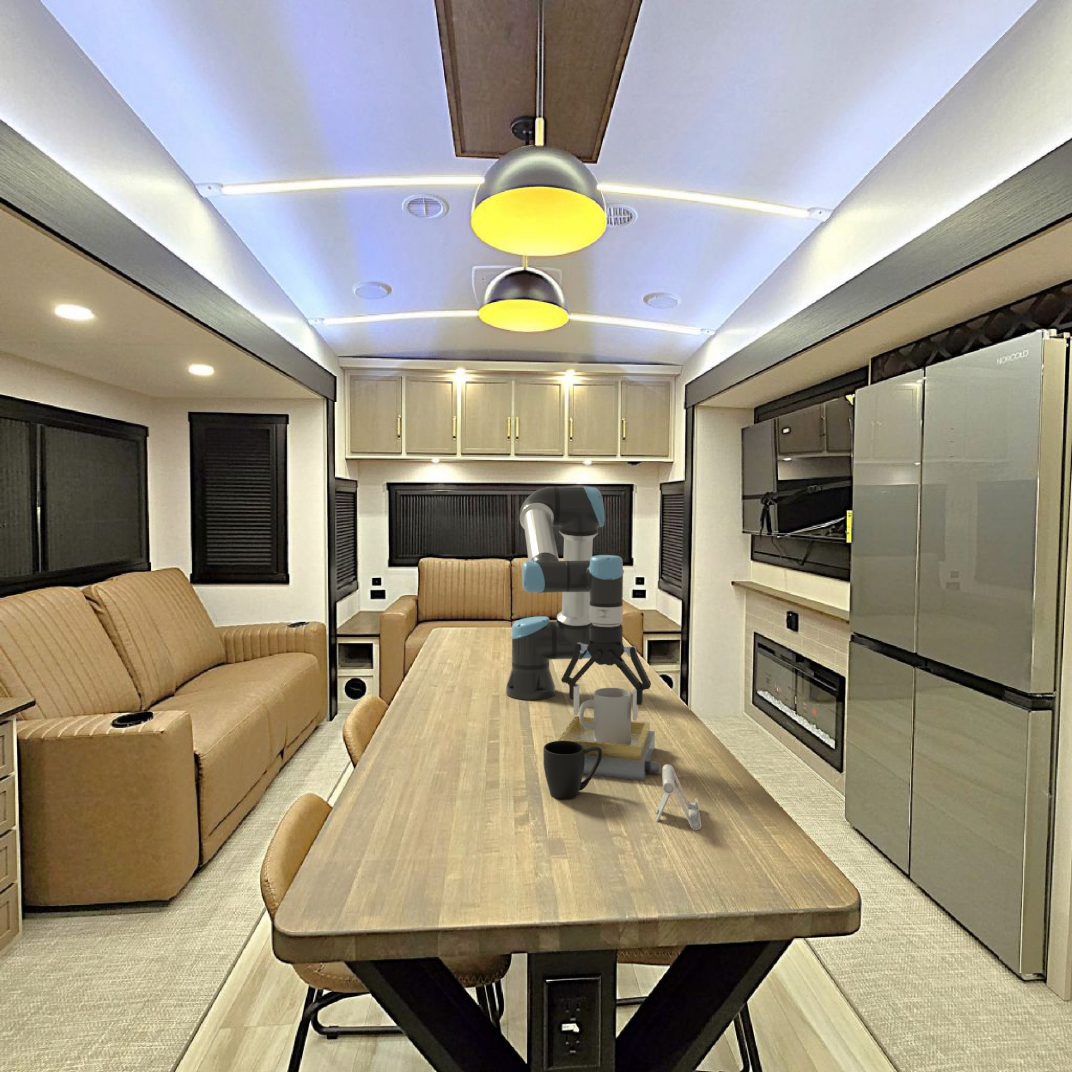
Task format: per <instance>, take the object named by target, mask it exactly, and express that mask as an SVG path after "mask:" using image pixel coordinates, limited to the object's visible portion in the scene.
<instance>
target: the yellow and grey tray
mask: <svg viewBox="0 0 1072 1072" xmlns="http://www.w3.org/2000/svg"><path fill="white" fill-rule="evenodd" d="M584 721H585V722H586V723H592V722H593V721H594V717H590V716H584ZM650 727H651V724H650V722H648V721H647V722H645V721H637V720H631V741H630V742H629V743H628V744H617V743H607V742H597V741H595V740H594V730H586V729H584V728H582V726H581V724H580V719H579V716H578V715H574V717H573V718H572V720H571V722H569V724H568V725H567V727H566V729H565V730H564V731H563V733H562V734H561V735H560V736H559V738H558V739H557V741H573V742H577V743H580V744H582V745H583V746H584V748H585V749H586V748H590V747H599V748H601V750H602V759H601V762H600V764H599V766H598V768H597V769H596V771H595V773H594V775H593V776H598V777H606V778H614V779H615V778H617V779H623V780H625V779H626V780H634V781H642V782H645V780H646V777H647V774H656V775H659V774H660V772H661V771H660V770H661V764H660V763H661V762H659V761H653V760H652V757H653V754H654V751H655V748H656V747H655V742H656V741H655V740H656V739H655V738H656V735H655V731H654V730H653V731H652V730H650V729H651V728H650ZM597 757H598V751H590V752H588V753H585V762H584V771H583V775H586V776H588V775H589V773H590V772H591V770H592V768H593V766H594V764H595V762H596V760H597ZM651 760H652V761H651Z"/></svg>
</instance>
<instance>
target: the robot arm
mask: <svg viewBox="0 0 1072 1072" xmlns="http://www.w3.org/2000/svg"><path fill="white" fill-rule="evenodd" d="M605 518H606V516H605V507H604V500H603V497H602V493H601V491H600V489H598V488H597V487H595V486H594V487H592V486H546V487H542V488H539V489H537V490H535V491H534V492H532V493H531V494H530V495H528V497H526V499H525V500H524V501H523V503H522V504H521V507H520V509H519V522H520V526H521V527H522V528H523V529H524V536H525V542H526V551H527V559H528V561H527V560H526V561H524V562H523V563H522V567H521V568H522V569H521V570H522V573H521V575H522V578H521V579H522V589H523V591H525V592H526V593H537V594H542V593H544V594H545V593H562V594H561V595H562V596H561V598H562V599H561V611H560V612H559V613H557V615H556V621H551V620H550V618H549V617H548V616H545V615H543V616H540V615H539V616H532V617H525V618H524V617H523V618H521V619H519V620H516V621H514V623H513V624H512V626H511V637H510V639H511V670H510V674H509V676H508V679H507V683H506V686H505V691H506V693H505V694H506V695H507V696H508V697H510V698H513V699H517V700H526V701H527V700H528V701H534V700H543V699H549V698H551V697H554V695H555V694H556V686H555V682H554V679H553V675H552V673H551V669H550V661H551V660H570V662H569V664H568V666H567V667H566V669H565V672H564V674H563V675H562V677H561V680H560V681H561V683H564V684H567V685H568V687H569V689H568V690H569V691H568V692H569V693H568V696H569V700H573V715H574V716H578V715H579V712H580V684H579V683H577V682H578V681H579V680H580V679H581V678H582V676H583V675H584V674H585V673H587V671H588V669H590V668H591V667H592V665H593V664H594V663H596V664H597V665H598V666H599V665H600V666H603V665H606V666H609V667H611V666H613V665H615V666H616V667H617V668H618V669H620V671H621V672H622V674H623V675H624V676H625V677H626V679H627V680H628V681H629V682H630V683H631V685H632V687H634V689H633V691H632V721H637V720H638V717H639V706H642V703H643V701H644V700H643V699H644V698H643V697H644V696H643V693H644V691H645V690H649V689H650V688H651V686H652V682H651V680H650V678H649V676H648V674H647V672H646V670H645V667H644V666H643V664H642V661H641V659H640V657H639V655H638V648H637V646H636V645H635V644H633V645H631V646H625V645H624V644H623V643H624V641H623V640H624V639H623V633H624V631H623V630H624V629H623V628H624V626H623V625H622V623H623V620H624V613H623V612H624V611H623V610H624V603H623V600H624V599H623V597H624V596H623V594H624V593H623V592H624V588H623V587H624V586H623V584H624V572H625V571H624V565H623V564H624V563H623V561H624V560H623V558H622V557H621V556H619V555H613V554H612V555H610V554H599V555H593V545H594V544H593V543H594V541H593V539H594V538H595V537H596V536H598V535H599V528H602V527H604V525H605V520H606V519H605ZM554 527H555V528H557V527H558V533H559V534H560V535H561V536H562V537H563V560H560V559H559V555H558V549H557V544H556V539H555V533H554V530H553V528H554ZM624 653H625V654H627V657H630V659H631V662H632V665H633V666H634V669H635V671H636V672H637V674H638V677H639V678H640V679H639V678H638V677H637V676H636V674H635V673H634V672H633V671H632V669H630V667H629V666H628V665H627V664H626V661H625V660H624V659H623V657H622V656H623V655H624ZM585 659H588V661H586V662H585V664H584V665H583V666H582V667H581V669H580V670H579V671H577V672H576V674H575V675H574V676H573V677H571V675H572V673H573V671H574V669H575V667H576V665H577V663H578V661H579V660H585Z"/></svg>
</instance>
